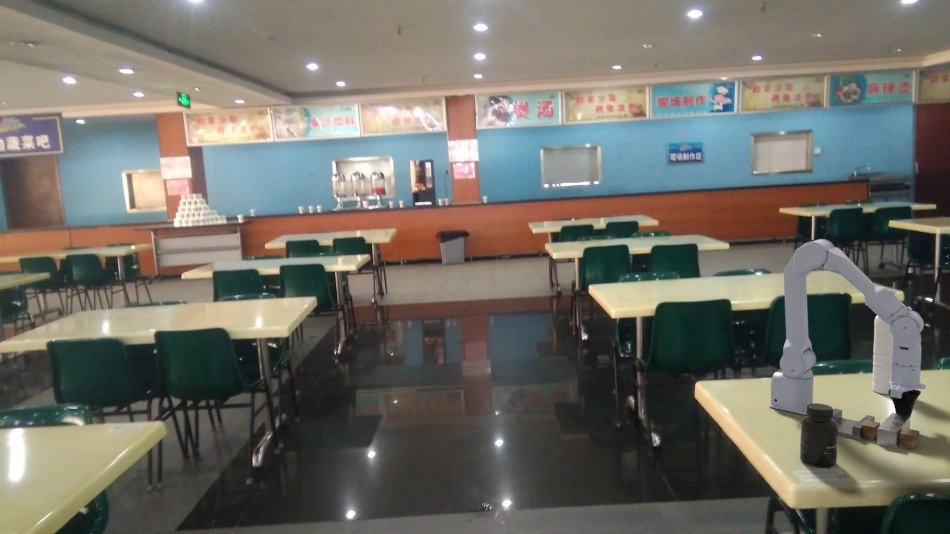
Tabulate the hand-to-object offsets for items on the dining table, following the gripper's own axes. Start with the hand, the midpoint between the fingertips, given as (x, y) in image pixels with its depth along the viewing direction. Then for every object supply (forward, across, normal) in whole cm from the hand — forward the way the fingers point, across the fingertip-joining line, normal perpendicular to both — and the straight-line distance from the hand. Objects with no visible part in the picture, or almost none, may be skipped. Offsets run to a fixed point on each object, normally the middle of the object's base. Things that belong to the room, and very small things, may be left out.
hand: (903, 420), depth 149 cm
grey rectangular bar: (+2, -8, 0) cm, 8 cm away
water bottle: (+2, +27, +12) cm, 29 cm away
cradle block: (+2, -9, +9) cm, 13 cm away
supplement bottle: (+2, -32, +7) cm, 33 cm away
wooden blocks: (+2, -10, 0) cm, 10 cm away
